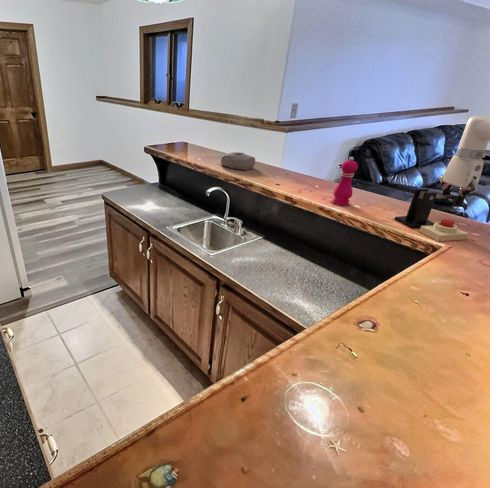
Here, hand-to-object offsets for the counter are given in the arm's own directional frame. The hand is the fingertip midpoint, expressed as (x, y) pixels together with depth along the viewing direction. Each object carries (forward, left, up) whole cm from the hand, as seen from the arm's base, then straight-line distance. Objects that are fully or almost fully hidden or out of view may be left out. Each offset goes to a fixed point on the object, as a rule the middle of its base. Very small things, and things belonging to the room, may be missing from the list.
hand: (450, 202), depth 129 cm
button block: (+11, +11, -8) cm, 17 cm away
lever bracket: (+12, 0, -8) cm, 14 cm away
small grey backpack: (+51, -91, -8) cm, 105 cm away
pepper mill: (+27, -24, -8) cm, 37 cm away
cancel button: (+11, +11, -4) cm, 16 cm away
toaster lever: (+6, 0, +2) cm, 7 cm away
